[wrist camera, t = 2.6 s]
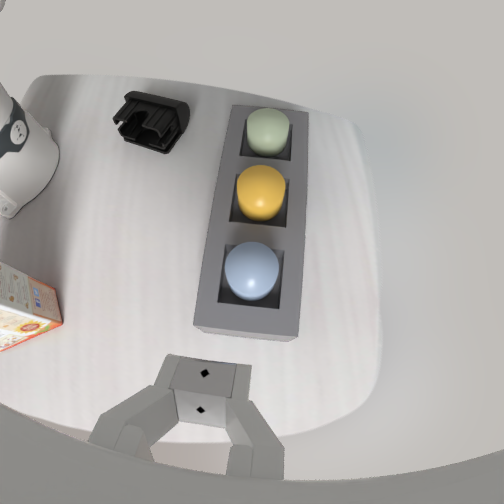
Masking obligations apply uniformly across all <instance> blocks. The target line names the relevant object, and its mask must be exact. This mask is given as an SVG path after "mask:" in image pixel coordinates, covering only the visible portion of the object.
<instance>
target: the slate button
mask: <svg viewBox="0 0 504 504" xmlns="http://www.w3.org/2000/svg"><path fill="white" fill-rule="evenodd" d="M278 272H279V263H278V259H277V257H276V255H275V253H274V252H273V251H272V250H271V249H270V248H269V247H267V246H266V245H264V244H262V243H258V242H245V243H242V244H240V245H238V246H236V247H235V248H234V249H233V250H232V251H231V252H230V253H229V255H228V256H227V259H226V262H225V273H226V277H227V281H228V285H229V287H230V289H231V291H232V292H233V293H234V294H235V295H236V296H237V297H239V298H241V299H243V300H247V301H256V300H260V299H262V298H264V297H266V296H267V295H268V294H269V293H270V292H271V291H272V289H273V287H274V285H275V282H276V279H277V276H278Z"/></svg>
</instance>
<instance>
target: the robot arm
mask: <svg viewBox="0 0 504 504" xmlns="http://www.w3.org/2000/svg"><path fill="white" fill-rule="evenodd" d="M5 1H6V0H0V12H1V11H2V9H3V7H4V4H5ZM58 160H59V149H58V146H57V144H56V143H55V142H54V141H53V140H52V138H51V131H50V130H49V129H48V128H47V127H45V128H42V127H41V126H40V124H39V123H38V122H37V121H36V120H35V119H34V118H33V117H32V116H31V115H30V114H29V113H28V112H27V111H25V112H24V111H23V109H22V108H21V106H20V104H19V103H18V102H17V101H16V100H15V99H14V98H13V97H10V96H9V95H8V93H7V92H6V90H5V89H4V87H3V86H2V84H1V83H0V215H2V216H4V217H6V218H9V219H10V218H12V217H14V216H15V214H16V213H17V212H18V211H19V210H20V208H21V207H22V206H23V205H25V204H26V203H28V202H29V201H31V200H32V199H33V198H35V197H36V196H37V195H38V194H39V193H40V192H41V191H42V190H43V189H44V188H45V186H46V185H47V184H48V182H49V181H50V179H51V177H52V176H53V174H54V172H55V169H56V167H57V164H58ZM251 369H252V365H245V364H235V363H226V362H217V361H208V360H202V359H196V358H190V357H184V356H177V355H172V354H168V355H167V356H166V357H165V360H164V362H163V364H162V367H161V369H160V371H159V374H158V376H157V379H156V381H155V383H154V386H152V385H149V386H147V387H146V388H144V389H143V390H141V391H139V392H138V393H136V394H135V395H133V396H131V397H130V398H128V399H126V400H125V401H123V402H121V403H120V404H118V405H117V406H115V407H113V408H112V409H110V410H108V411H107V412H105V413H103V414H101V415H100V417H99V419H98V421H97V423H96V425H95V427H94V429H93V431H92V433H91V435H90V437H89V440H88V442H87V441H84V440H81V439H78V438H76V437H73V436H71V435H68V434H66V433H63V432H61V431H58V430H56V429H53V428H51V427H49V426H46V425H44V424H42V423H40V422H38V421H36V420H33V419H31V418H29V417H27V416H25V415H23V414H21V413H19V412H17V411H15V410H13V409H11V408H9V407H7V406H6V405H4V404H2V403H0V504H504V450H500V451H497V452H494V453H491V454H488V455H485V456H481V457H477V458H474V459H470V460H467V461H463V462H459V463H455V464H450V465H446V466H442V467H438V468H432V469H427V470H422V471H417V472H410V473H404V474H396V475H389V476H380V477H372V478H371V477H370V478H359V479H342V480H284V446H283V445H282V444H281V442H280V441H279V440H278V438H277V437H276V435H275V434H274V432H273V431H272V430H271V428H270V427H269V425H268V424H267V422H266V421H265V419H264V418H263V416H262V415H261V414H260V412H259V411H258V409H257V408H256V406H255V405H254V403H253V402H252V401H250V400H249V390H250V380H251ZM178 421H181V422H188V423H194V424H202V425H207V426H213V427H219V428H226V431H227V433H228V435H229V437H230V439H231V441H232V443H233V446H232V447H231V448H230V453H229V459H228V465H227V470H226V475H223V474H215V473H209V472H203V471H197V470H191V469H185V468H180V467H175V466H170V465H166V464H162V463H157V462H155V461H154V459H153V456H152V453H151V451H150V447H151V446H152V445H153V444H154V443H155V442H157V441H158V440H159V439H160V438H161V437H163V436H164V435H165V434H166V433H167V432H168V431H169V430H171V429H172V428H173V427H174V426H175V425H176V424H177V423H178Z"/></svg>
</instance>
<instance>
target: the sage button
mask: <svg viewBox="0 0 504 504" xmlns="http://www.w3.org/2000/svg"><path fill="white" fill-rule="evenodd" d="M288 131H289V120H288V118H287V116H286V115H285V114H284V113H282V112H281V111H278V110H276V109H272V108H263V109H258V110H256V111H254V112H253V113H251V114H250V115H249V117H248V119H247V144H248V147H249V148H250V150H251V151H252V152H254V153H255V154H257V155H260V156H264V157H272V156H276V155H278V154H280V153H281V152H282V151H283V150H284V149H285V147H286V143H287V137H288Z"/></svg>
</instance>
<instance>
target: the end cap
mask: <svg viewBox="0 0 504 504" xmlns="http://www.w3.org/2000/svg"><path fill="white" fill-rule="evenodd" d="M124 98H125V100H126V103H125V104H124V105H123V106H122V108H121V109H120V110H119V111H118V112H117V113H116V115H115V116H114V117H113V121H114V123H115V124H116V125H117V124H118V123H119V122H120V121H123V123H122V125H121V126H120V127H119V128H118V131H119V133H120V135H121V136H123V137H124V140H125V141H126V142H129V143H133V144H136V145H139V146H142V147H145V148H148V149H151V150H154V151H157V152H160V153H163V154H168V153H169V152H170V151H171V149H172V148H173V147H174V145H175V144H176V142H177V141H178V140H179V138H180V137H181V135H182V134H183V133H184V131H185V129H186V127H187V125H188V122H189V117H190V109H189V106H188V104H187V103H185V102H181V101H177V100H173V99H169V98H165V97H161V96H156V95H152V94H147V93H142V92H138V91H131V92H129V93H127V94H126V95H125V96H124Z"/></svg>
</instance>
